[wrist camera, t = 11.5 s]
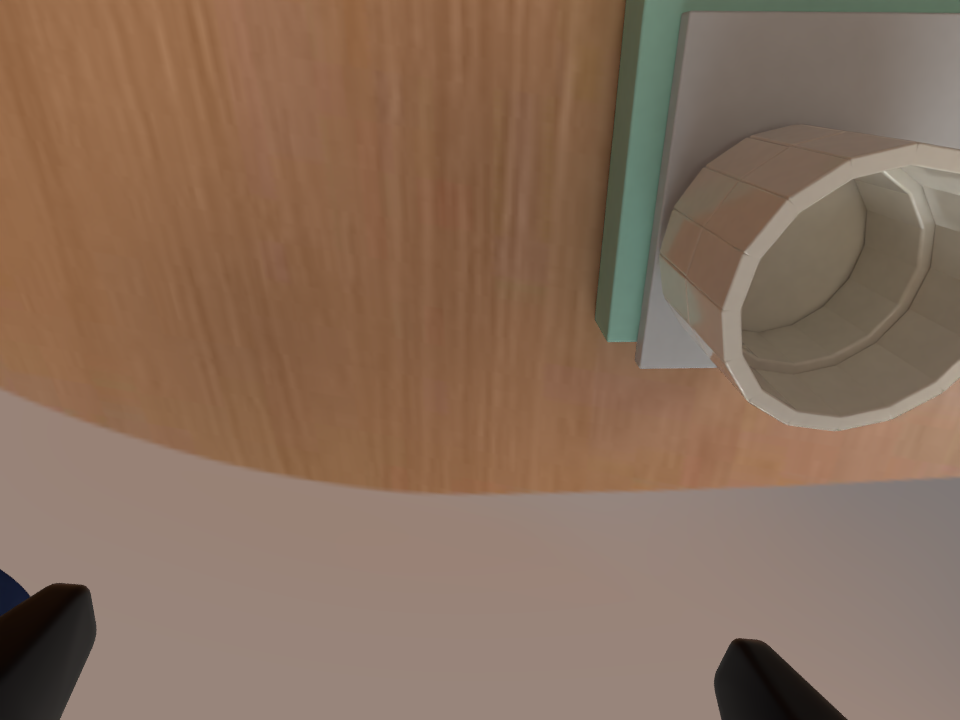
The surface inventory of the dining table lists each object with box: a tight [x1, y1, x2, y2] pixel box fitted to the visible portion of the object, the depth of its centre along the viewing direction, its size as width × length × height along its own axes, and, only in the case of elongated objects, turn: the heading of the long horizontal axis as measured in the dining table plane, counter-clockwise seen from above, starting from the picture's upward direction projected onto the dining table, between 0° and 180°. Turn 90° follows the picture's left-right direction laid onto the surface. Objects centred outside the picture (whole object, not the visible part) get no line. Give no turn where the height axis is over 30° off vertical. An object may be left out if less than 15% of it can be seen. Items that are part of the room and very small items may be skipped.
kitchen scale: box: [595, 0, 960, 369], centre depth 16 cm, size 12×11×2 cm
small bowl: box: [659, 124, 960, 431], centre depth 14 cm, size 6×6×5 cm
